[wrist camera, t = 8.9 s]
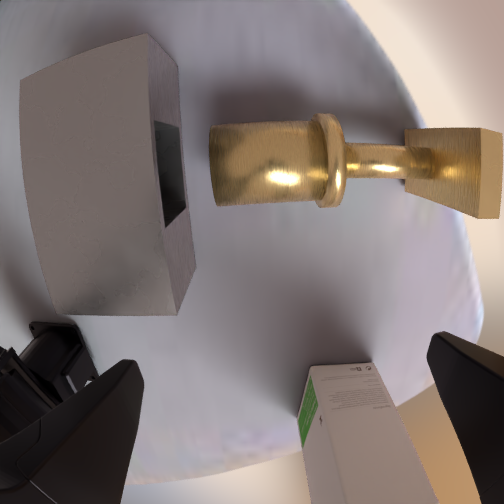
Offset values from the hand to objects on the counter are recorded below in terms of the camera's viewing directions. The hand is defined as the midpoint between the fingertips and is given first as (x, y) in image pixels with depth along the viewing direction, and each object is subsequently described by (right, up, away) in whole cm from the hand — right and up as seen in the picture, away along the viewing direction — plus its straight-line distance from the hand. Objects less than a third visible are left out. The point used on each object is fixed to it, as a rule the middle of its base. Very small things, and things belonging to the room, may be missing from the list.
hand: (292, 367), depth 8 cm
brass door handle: (+4, +9, +10) cm, 14 cm away
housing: (-9, +8, +11) cm, 17 cm away
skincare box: (+7, -10, +18) cm, 22 cm away
